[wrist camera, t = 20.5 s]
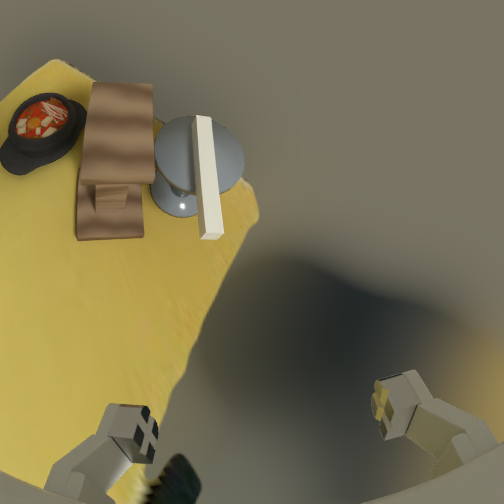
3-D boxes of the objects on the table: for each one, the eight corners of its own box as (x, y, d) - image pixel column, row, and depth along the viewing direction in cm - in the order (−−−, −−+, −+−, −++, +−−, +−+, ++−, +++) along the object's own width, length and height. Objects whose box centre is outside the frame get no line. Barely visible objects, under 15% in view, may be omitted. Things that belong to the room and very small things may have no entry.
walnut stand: (143, 242, 60) (170, 176, 38) (77, 245, 53) (65, 177, 31) (139, 168, 64) (164, 85, 42) (80, 168, 58) (81, 82, 36)
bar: (217, 239, 50) (223, 232, 48) (200, 239, 49) (205, 232, 47) (205, 126, 57) (211, 117, 54) (191, 124, 55) (196, 115, 53)
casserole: (60, 94, 60) (60, 71, 52) (103, 127, 63) (106, 104, 56) (-12, 152, 47) (-20, 131, 40) (28, 195, 50) (20, 175, 43)
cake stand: (125, 194, 61) (134, 153, 48) (171, 145, 70) (190, 103, 57) (191, 241, 65) (216, 211, 52) (229, 187, 74) (258, 152, 61)
